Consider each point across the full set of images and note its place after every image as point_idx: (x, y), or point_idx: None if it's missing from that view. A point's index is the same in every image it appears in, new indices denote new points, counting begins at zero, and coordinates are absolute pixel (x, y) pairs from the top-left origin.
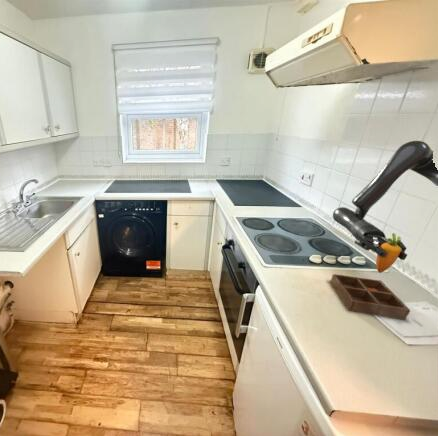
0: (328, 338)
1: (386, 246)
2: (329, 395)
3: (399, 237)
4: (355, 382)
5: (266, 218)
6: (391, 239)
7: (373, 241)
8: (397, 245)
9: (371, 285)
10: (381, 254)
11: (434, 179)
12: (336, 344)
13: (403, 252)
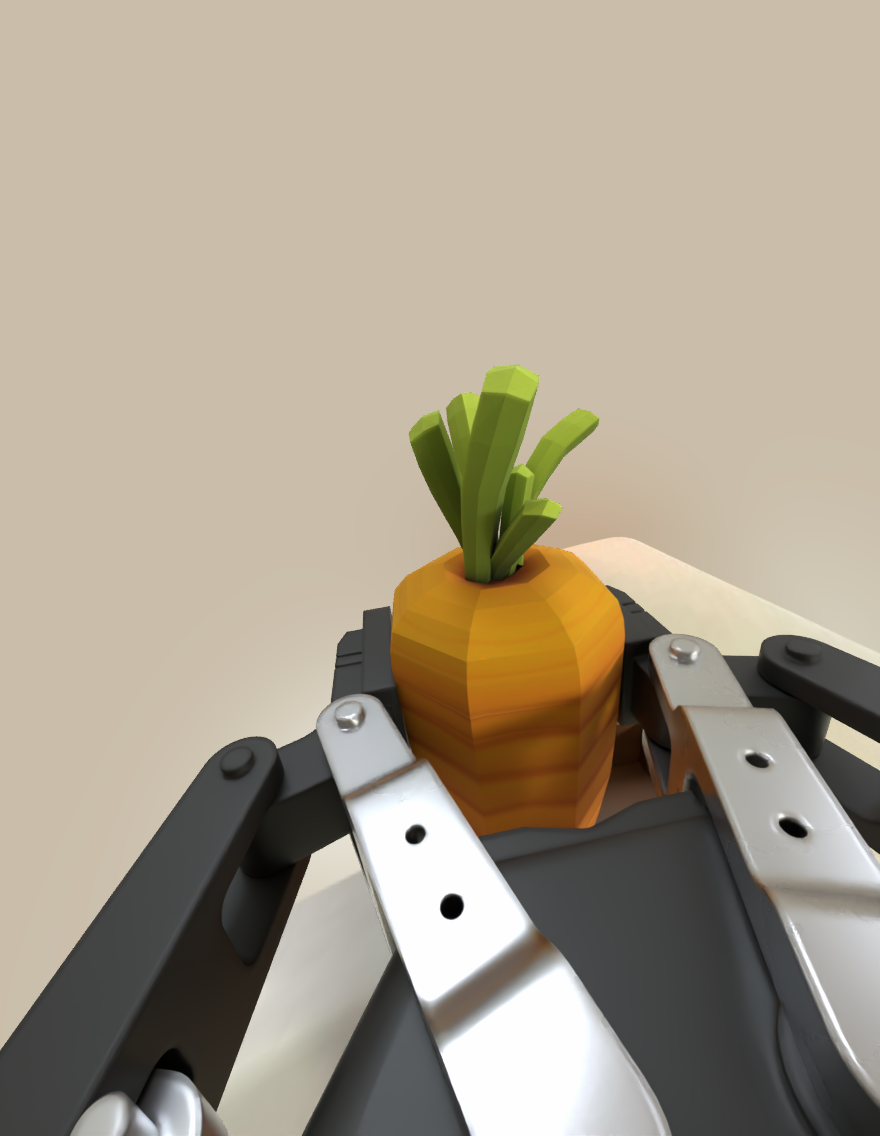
0: (670, 615)
1: (571, 555)
2: (632, 539)
3: (433, 424)
4: (596, 564)
5: None
6: (547, 439)
7: (787, 749)
8: (430, 577)
9: None
10: None
11: None
12: (646, 609)
13: (370, 630)
